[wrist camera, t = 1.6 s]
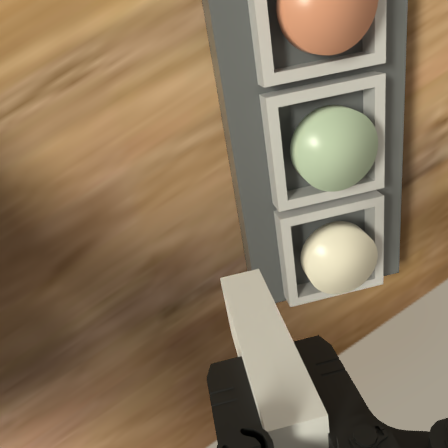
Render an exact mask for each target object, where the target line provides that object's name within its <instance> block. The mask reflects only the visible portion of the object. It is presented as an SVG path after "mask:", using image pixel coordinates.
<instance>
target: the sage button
mask: <svg viewBox="0 0 448 448" xmlns="http://www.w3.org/2000/svg"><path fill="white" fill-rule="evenodd" d="M377 151H378V136H377V132H376V129H375V127H374V125H373V123H372V122H371V120H370V119H369V118H368V117H367V116H365V115H364V114H362V113H361V112H358V111H356V110H353V109H351V108H348V107H345V106H342V105H326V106H322V107H320V108H317V109H315V110H313V111H312V112H310V113H309V114H308V115H306V116H305V117H304V118H303V119H302V121H301V122H300V123H299V124H298V126H297V127H296V129H295V131H294V133H293V136H292V139H291V144H290V156H291V161H292V164H293V166H294V168H295V170H296V171H297V172H298V173H299V175H300V176H302V177H303V178H304V179H305V180H306V181H307V182H308V183H309V184H310V185H312V186H313V187H315V188H317V189H319V190H322V191H328V192H335V191H341V190H344V189H347V188H349V187H351V186H353V185H355V184H356V183H357V182H359V181H360V180H361V179H362V178H363V177H364V176H365V175H366V174H367V173H368V171H369V170H370V169H371V167H372V165H373V163H374V161H375V158H376V155H377Z"/></svg>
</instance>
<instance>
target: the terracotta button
mask: <svg viewBox="0 0 448 448" xmlns="http://www.w3.org/2000/svg"><path fill="white" fill-rule="evenodd" d="M377 6H378V0H276V13H277V19H278V23H279V26H280V29H281V31H282V33H283V34H284V36H285V38H286V39H287V40H288V41H289V42H290V43H291V44H292V45H293V46H294V47H295V48H297V49H299V50H301V51H303V52H306V53H310V54H317V55H335V54H339V53H342V52H344V51H346V50H348V49H350V48H351V47H353V46H354V45H355V44H357V43H358V42H359V41H360V40H361V39H362V37H363V36H364V35H365V34H366V32H367V31H368V29H369V28H370V26H371V24H372V22H373V19H374V17H375V14H376V10H377Z"/></svg>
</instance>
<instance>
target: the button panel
mask: <svg viewBox="0 0 448 448" xmlns="http://www.w3.org/2000/svg"><path fill="white" fill-rule="evenodd" d="M202 4H203V10H204V16H205V22H206V27H207V33H208V39H209V45H210V51H211V57H212V63H213V69H214V75H215V81H216V87H217V93H218V99H219V105H220V110H221V116H222V122H223V128H224V134H225V140H226V146H227V152H228V158H229V164H230V170H231V176H232V182H233V188H234V193H235V199H236V205H237V211H238V217H239V223H240V229H241V235H242V241H243V247H244V253H245V259H246V265H247V271H251V270H255V269H259V270H260V272H261V274H262V276H263V278H264V281H265V283H266V285H267V287H268V289H269V291H270V293H271V295H272V298H273V300H274V302H275V303H277V302H281V301H285V300H287V302H288V304H289V306H290V307H293V306H297V305H301V304H305V303H309V302H313V301H317V300H321V299H325V298H329V297H333V296H337V295H341V294H327V293H324V292H322V291H320V290H318V289H317V288H316V287H314V285H313V284H312V283H311V281H310V280H309V278H308V277H307V275H306V274H305V272H304V270H303V269H302V266H301V261H300V256H301V251H302V248H303V245H304V243H305V241H306V240H307V239H308V237H309V236H310V235H311V234H312V233H313V232H314V231H315V230H317V229H318V228H319V227H321V226H323V225H325V224H328V223H331V222H335V221H346V222H351V223H353V224H355V225H357V226H358V227H359V228H361V229H362V230H363V231H364V232H365V233H366V234H367V235H368V236H369V237H370V238H371V239H372V240H373V241H374V243H375V245H376V247H377V251H378V259H377V264H376V266H375V269H374V271H373V272H372V274H371V276H370V277H369V278H368V279H367V280H366V281H365V282H364V283H363V284H362V285H360V286H359V287H358V288H356V289H354V290H352V291H349V292H353V291H357V290H361V289H365V288H369V287H373V286H377V285H381V284H383V276H386V275H390V274H394V273H398V272H399V255H400V224H401V194H402V163H403V132H404V101H405V71H406V40H407V9H408V0H378V6H377V10H376V14H375V17H374V19H373V22H372V24H371V26H370V28H369V29H368V31H367V32H366V34H365V35H364V36H363V37H362V39H361V40H360V41H359V42H358V43H357V44H355V45H354V46H353V47H351V48H350V49H348V50H346V51H344V52H342V53H339V54H335V55H317V54H310V53H306V52H303V51H301V50H299V49H297V48H295V47H294V46H293V45H292V44H291V43H290V42H289V41H288V40H287V39H286V38H285V36H284V34H283V33H282V31H281V29H280V26H279V23H278V19H277V13H276V0H202ZM326 105H342V106H345V107H348V108H351V109H353V110H356V111H358V112H361V113H362V114H364V115H365V116H367V117H368V118H369V119H370V120H371V122H372V123H373V125H374V127H375V129H376V132H377V136H378V151H377V155H376V158H375V161H374V163H373V165H372V167H371V169H370V170H369V171H368V173H367V174H366V175H365V176H364V177H363V178H362V179H361V180H360V181H359V182H357V183H356V184H355V185H353V186H351V187H349V188H347V189H344V190H341V191H335V192H328V191H322V190H319V189H317V188H315V187H313V186H312V185H310V184H309V183H308V182H307V181H306V180H305V179H304V178H303V177H302V176H300V175H299V173H298V172H297V171H296V170H295V168H294V166H293V164H292V161H291V156H290V144H291V139H292V136H293V133H294V131H295V129H296V127H297V126H298V124H299V123H300V122H301V121H302V119H303V118H304V117H305V116H306V115H308V114H309V113H310V112H312V111H313V110H315V109H317V108H320V107H322V106H326ZM349 292H347V293H349ZM343 294H345V293H343Z"/></svg>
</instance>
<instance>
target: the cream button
mask: <svg viewBox="0 0 448 448" xmlns="http://www.w3.org/2000/svg"><path fill="white" fill-rule="evenodd" d="M377 259H378V251H377V247H376V245H375V243H374V241H373V240H372V239H371V238H370V237H369V236H368V235H367V234H366V233H365V232H364V231H363V230H362V229H361V228H359V227H358V226H357V225H355V224H353V223H351V222H346V221H335V222H331V223H328V224H325V225H323V226H321V227H319V228H318V229H317V230H315V231H314V232H313V233H312V234H311V235H310V236H309V237H308V239H307V240H306V241H305V243H304V245H303V248H302V251H301V256H300V261H301V266H302V269H303V270H304V272H305V274H306V275H307V277H308V278H309V280H310V281H311V283H312V284H313V285H314V287H316V288H317V289H318V290H320V291H322V292H324V293H327V294H343V293H347V292H349V291H352V290H354V289H356V288H358V287H359V286H360V285H362V284H363V283H364V282H365V281H366V280H367V279H368V278H369V277H370V276H371V274H372V272H373V271H374V269H375V266H376V264H377Z"/></svg>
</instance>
